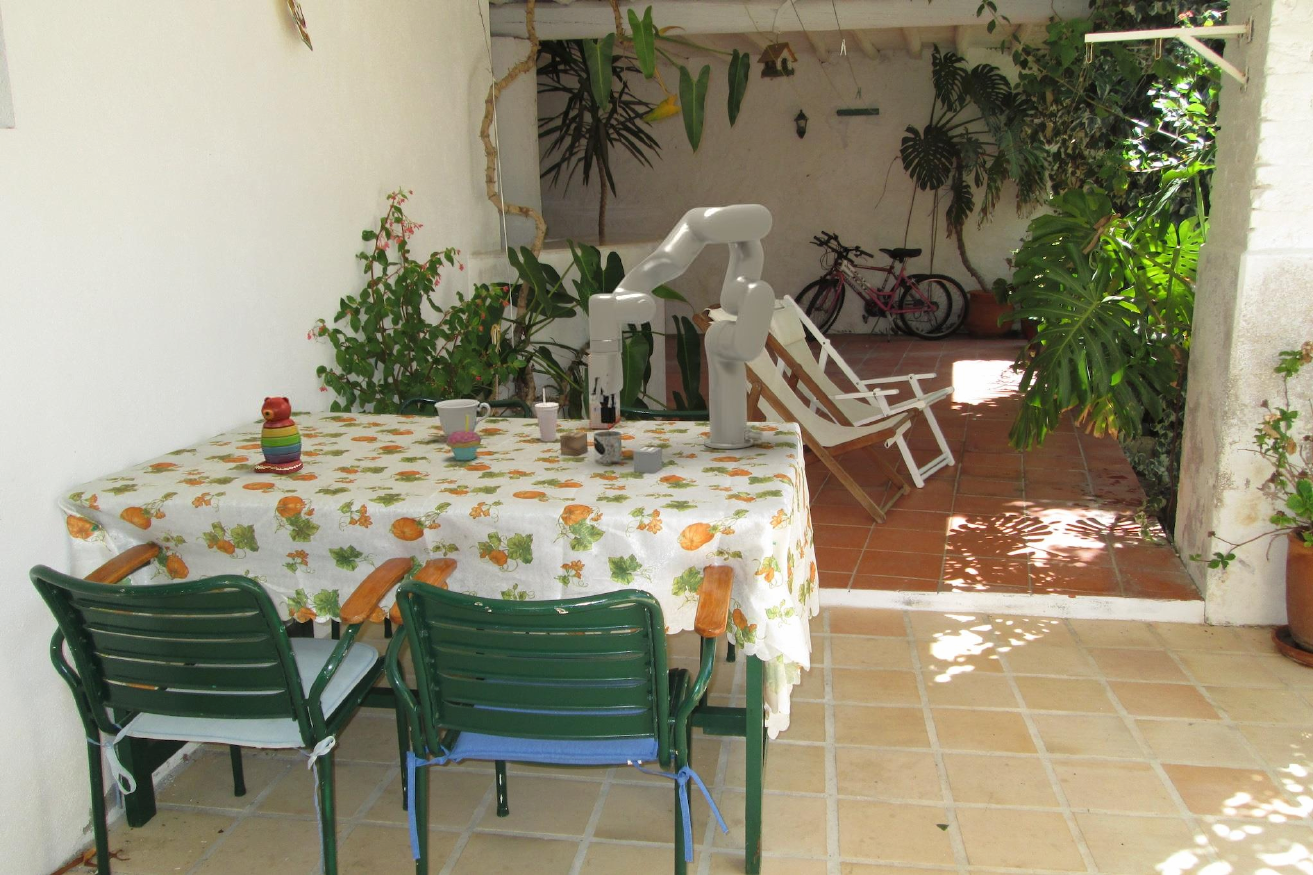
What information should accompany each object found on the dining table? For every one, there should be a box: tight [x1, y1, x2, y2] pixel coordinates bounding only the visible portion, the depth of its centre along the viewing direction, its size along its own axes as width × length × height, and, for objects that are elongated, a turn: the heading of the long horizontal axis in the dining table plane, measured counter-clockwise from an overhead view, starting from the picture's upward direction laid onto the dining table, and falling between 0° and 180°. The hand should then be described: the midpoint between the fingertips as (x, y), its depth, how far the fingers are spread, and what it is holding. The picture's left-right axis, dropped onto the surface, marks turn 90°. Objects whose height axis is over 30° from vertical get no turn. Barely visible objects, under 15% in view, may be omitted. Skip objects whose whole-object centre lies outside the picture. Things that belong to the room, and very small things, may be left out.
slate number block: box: [632, 446, 663, 474], centre depth 244 cm, size 5×5×5 cm
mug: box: [593, 430, 623, 465], centre depth 253 cm, size 10×7×7 cm, turn 23°
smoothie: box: [534, 387, 560, 443], centre depth 279 cm, size 6×6×14 cm
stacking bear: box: [253, 396, 304, 475], centre depth 255 cm, size 11×10×18 cm
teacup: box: [434, 398, 492, 437], centre depth 284 cm, size 12×15×10 cm
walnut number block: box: [559, 431, 589, 457], centre depth 264 cm, size 5×5×5 cm
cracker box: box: [587, 353, 621, 430], centre depth 297 cm, size 14×6×21 cm, turn 168°
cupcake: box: [445, 412, 482, 462], centre depth 261 cm, size 9×8×12 cm
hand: (608, 422), depth 252 cm, fingers closed
